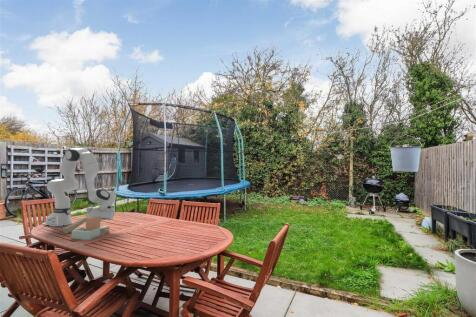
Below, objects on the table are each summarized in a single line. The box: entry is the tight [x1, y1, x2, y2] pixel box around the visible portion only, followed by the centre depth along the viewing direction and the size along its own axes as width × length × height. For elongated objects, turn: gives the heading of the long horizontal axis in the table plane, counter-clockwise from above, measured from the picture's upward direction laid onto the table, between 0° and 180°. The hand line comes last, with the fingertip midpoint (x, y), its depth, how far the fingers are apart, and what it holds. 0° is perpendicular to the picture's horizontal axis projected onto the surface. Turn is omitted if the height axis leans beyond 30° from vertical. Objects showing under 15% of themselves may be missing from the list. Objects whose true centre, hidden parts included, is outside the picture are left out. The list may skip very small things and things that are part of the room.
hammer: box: [62, 206, 94, 235], centre depth 235 cm, size 16×5×30 cm
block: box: [85, 216, 101, 231], centre depth 221 cm, size 7×7×9 cm
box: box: [71, 226, 101, 241], centre depth 213 cm, size 14×12×6 cm
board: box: [84, 225, 110, 236], centre depth 225 cm, size 14×12×4 cm
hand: (96, 223), depth 225 cm, fingers closed, pressing on block
